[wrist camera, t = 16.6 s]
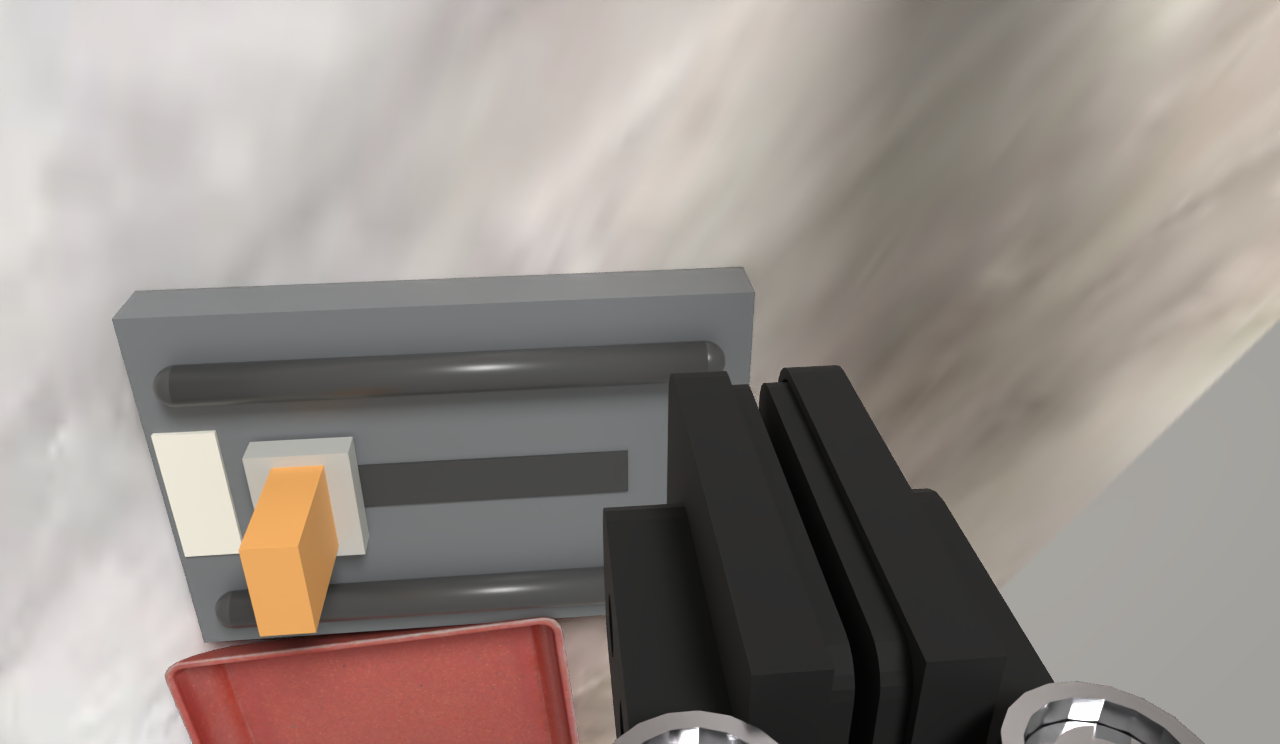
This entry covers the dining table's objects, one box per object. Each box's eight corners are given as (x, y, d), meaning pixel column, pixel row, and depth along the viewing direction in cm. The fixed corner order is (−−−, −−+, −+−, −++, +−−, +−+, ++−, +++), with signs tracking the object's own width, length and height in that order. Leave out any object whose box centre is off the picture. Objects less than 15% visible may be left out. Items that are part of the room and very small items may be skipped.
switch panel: (742, 267, 41) (763, 309, 37) (726, 570, 49) (742, 630, 45) (135, 291, 39) (95, 338, 35) (219, 604, 47) (193, 668, 43)
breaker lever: (352, 436, 40) (325, 533, 34) (369, 536, 42) (346, 640, 37) (249, 441, 39) (205, 540, 34) (272, 542, 42) (234, 648, 36)
